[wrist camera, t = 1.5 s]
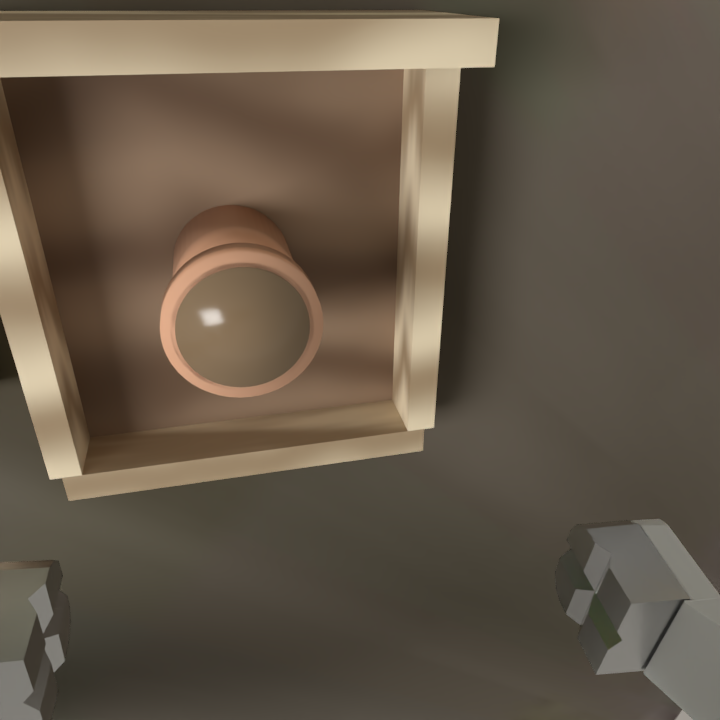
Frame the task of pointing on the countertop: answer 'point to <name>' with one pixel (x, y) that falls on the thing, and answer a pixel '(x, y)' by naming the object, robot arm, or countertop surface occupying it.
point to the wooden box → (217, 188)
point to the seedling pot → (238, 305)
